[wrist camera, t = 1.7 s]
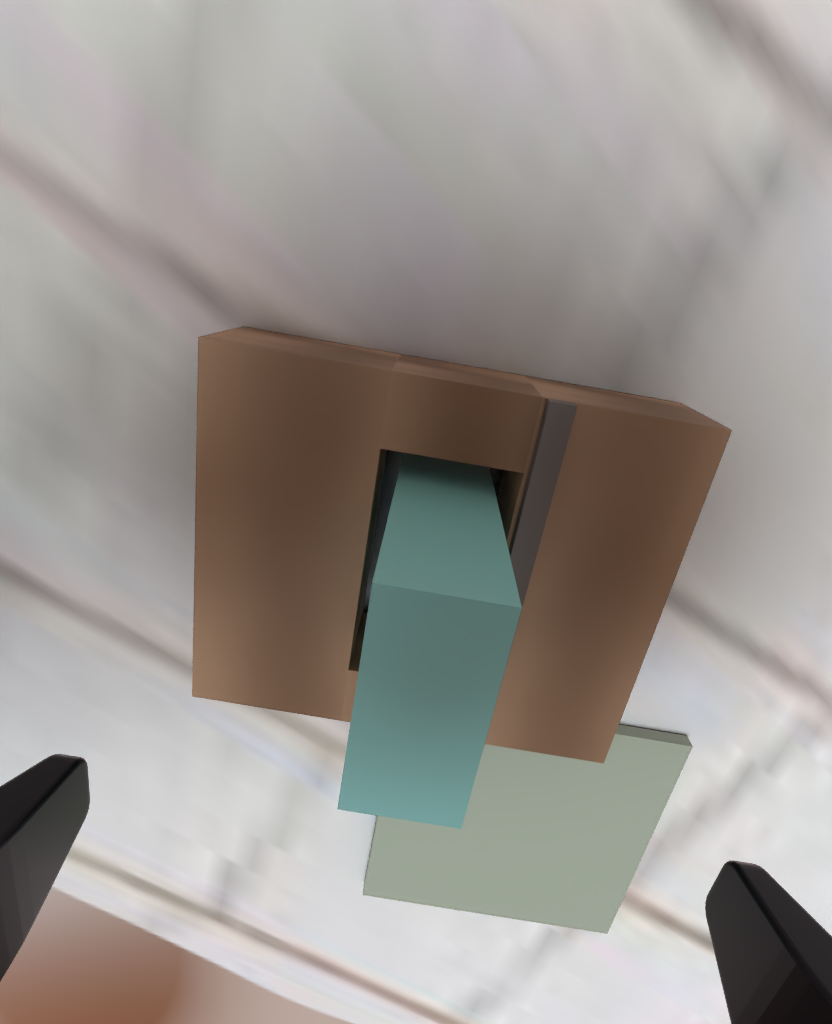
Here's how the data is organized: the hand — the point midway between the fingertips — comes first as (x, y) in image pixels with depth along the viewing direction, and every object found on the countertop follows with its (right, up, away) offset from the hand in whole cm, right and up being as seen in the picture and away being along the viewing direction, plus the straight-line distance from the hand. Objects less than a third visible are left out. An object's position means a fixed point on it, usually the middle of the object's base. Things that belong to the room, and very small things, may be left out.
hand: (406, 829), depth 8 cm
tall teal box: (+1, +4, +9) cm, 10 cm away
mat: (+4, -7, +14) cm, 16 cm away
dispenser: (+1, +4, +9) cm, 10 cm away
